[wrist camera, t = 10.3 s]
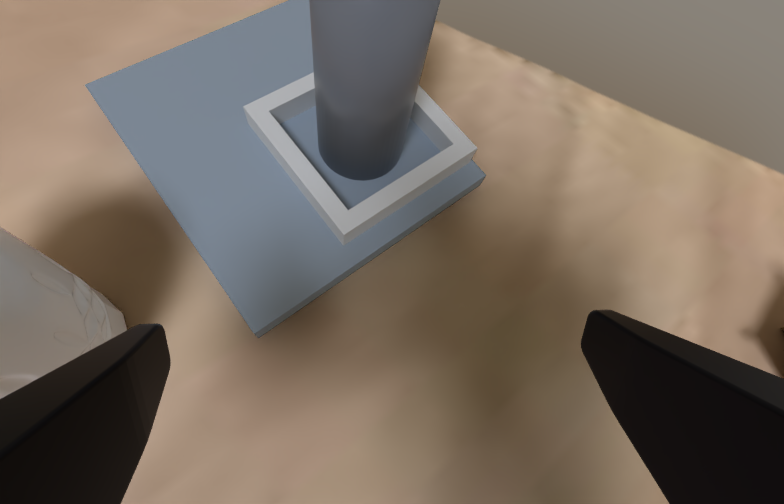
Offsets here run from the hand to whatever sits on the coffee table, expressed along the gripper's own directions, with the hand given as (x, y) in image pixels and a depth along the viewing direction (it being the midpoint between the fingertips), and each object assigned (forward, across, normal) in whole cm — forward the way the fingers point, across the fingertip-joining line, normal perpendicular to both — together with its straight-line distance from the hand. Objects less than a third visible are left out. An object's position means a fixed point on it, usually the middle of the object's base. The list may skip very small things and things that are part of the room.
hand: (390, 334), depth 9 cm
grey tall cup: (+18, 0, -1) cm, 18 cm away
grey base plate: (+20, +4, -1) cm, 20 cm away
